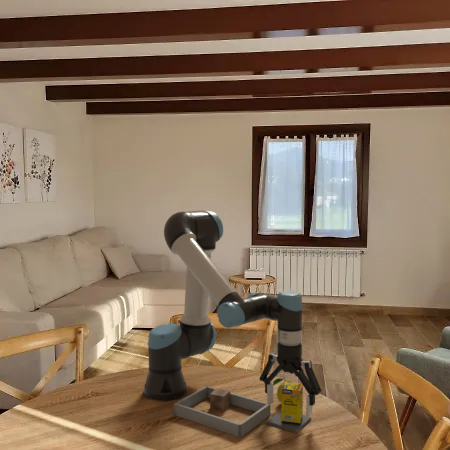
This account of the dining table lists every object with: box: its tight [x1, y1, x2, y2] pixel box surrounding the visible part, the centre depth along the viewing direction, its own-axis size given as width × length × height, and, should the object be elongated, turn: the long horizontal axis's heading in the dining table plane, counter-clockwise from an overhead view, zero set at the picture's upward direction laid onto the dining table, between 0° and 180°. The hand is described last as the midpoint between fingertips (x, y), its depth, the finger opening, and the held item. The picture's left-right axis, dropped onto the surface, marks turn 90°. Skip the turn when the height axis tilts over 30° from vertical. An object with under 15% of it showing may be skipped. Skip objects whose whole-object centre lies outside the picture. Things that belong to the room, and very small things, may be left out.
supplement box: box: [281, 381, 304, 425], centre depth 153 cm, size 6×6×11 cm
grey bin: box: [173, 385, 271, 438], centre depth 159 cm, size 26×18×4 cm
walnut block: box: [209, 387, 231, 412], centre depth 165 cm, size 5×5×5 cm
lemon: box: [272, 377, 294, 404], centre depth 166 cm, size 7×6×10 cm
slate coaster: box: [266, 409, 312, 433], centre depth 154 cm, size 10×10×1 cm
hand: (289, 409), depth 154 cm, fingers open, 13 cm apart
